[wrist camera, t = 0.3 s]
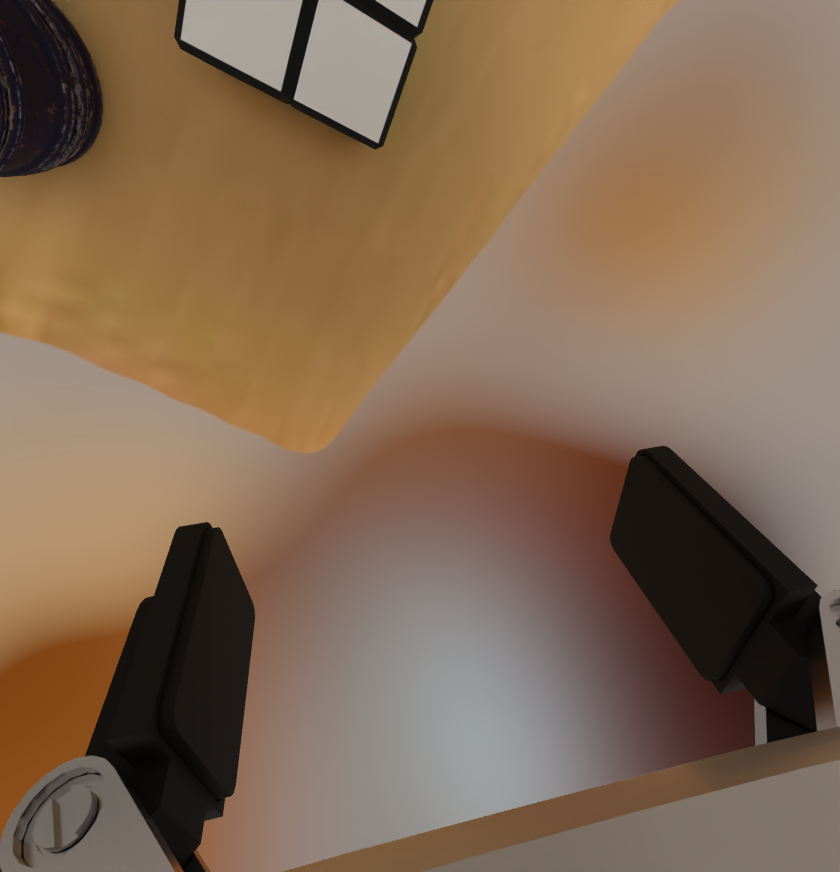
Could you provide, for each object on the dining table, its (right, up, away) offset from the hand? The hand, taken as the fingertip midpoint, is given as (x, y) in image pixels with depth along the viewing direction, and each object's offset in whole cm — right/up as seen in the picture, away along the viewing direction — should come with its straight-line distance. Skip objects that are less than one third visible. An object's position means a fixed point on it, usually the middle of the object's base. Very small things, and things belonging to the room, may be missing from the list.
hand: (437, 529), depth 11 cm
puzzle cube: (-7, +28, +17) cm, 33 cm away
